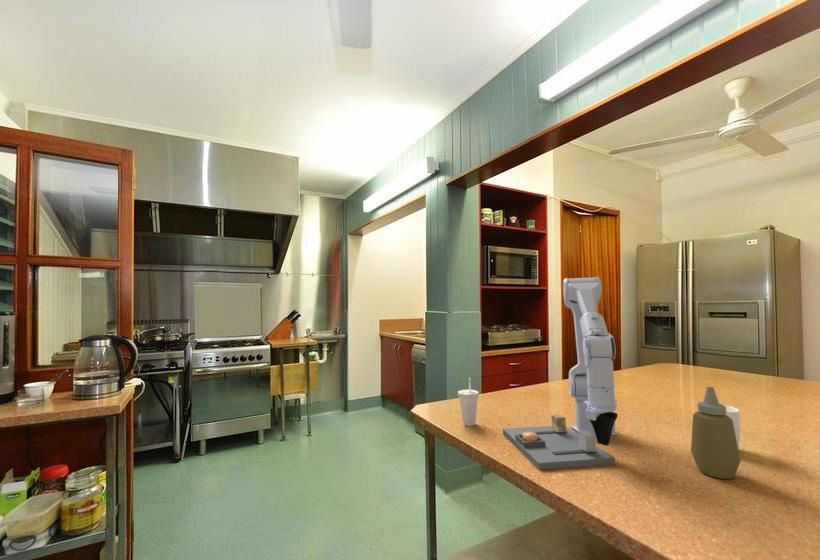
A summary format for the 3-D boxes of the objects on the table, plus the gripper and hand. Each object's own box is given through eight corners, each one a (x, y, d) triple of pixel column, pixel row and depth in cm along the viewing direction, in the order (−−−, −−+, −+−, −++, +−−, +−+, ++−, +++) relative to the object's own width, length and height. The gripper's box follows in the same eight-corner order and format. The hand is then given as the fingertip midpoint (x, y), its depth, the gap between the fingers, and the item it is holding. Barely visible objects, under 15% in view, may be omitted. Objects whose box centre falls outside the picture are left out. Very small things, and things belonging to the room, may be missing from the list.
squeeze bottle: (692, 461, 82) (687, 381, 83) (740, 471, 77) (734, 386, 78) (691, 475, 76) (685, 388, 77) (743, 487, 71) (736, 393, 72)
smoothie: (479, 428, 107) (478, 380, 107) (457, 426, 108) (456, 379, 109) (479, 421, 113) (478, 375, 114) (459, 420, 114) (458, 375, 115)
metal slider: (588, 446, 87) (587, 430, 87) (596, 451, 84) (595, 434, 84) (579, 447, 86) (578, 431, 87) (586, 452, 83) (585, 435, 84)
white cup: (727, 457, 84) (724, 413, 84) (692, 444, 91) (690, 404, 92) (751, 453, 86) (747, 410, 86) (715, 441, 93) (712, 401, 94)
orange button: (533, 439, 93) (533, 431, 93) (540, 444, 89) (539, 436, 89) (520, 440, 92) (519, 432, 92) (526, 445, 89) (525, 437, 89)
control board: (563, 430, 103) (563, 420, 103) (615, 464, 81) (614, 451, 81) (502, 434, 101) (502, 424, 101) (539, 470, 79) (538, 457, 79)
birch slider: (560, 428, 99) (559, 414, 100) (566, 431, 96) (565, 417, 97) (552, 428, 99) (551, 414, 99) (557, 432, 96) (556, 417, 96)
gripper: (594, 378, 94) (597, 431, 93) (571, 388, 84) (573, 447, 83) (624, 382, 89) (627, 438, 88) (603, 393, 79) (606, 457, 78)
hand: (603, 443), depth 85 cm, fingers closed
